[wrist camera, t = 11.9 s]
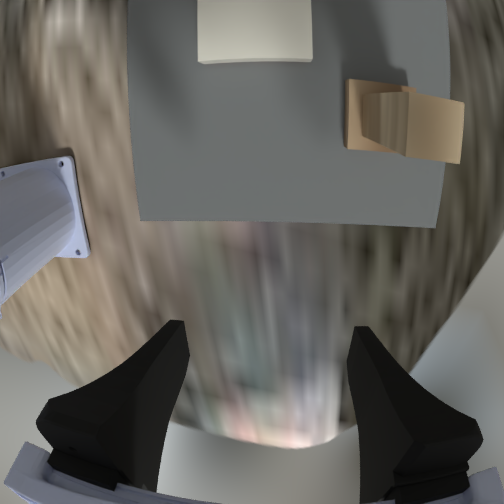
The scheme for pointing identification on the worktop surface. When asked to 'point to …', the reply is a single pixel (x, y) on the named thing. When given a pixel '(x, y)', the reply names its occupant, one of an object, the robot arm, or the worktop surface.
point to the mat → (280, 118)
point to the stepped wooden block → (402, 121)
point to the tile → (254, 31)
